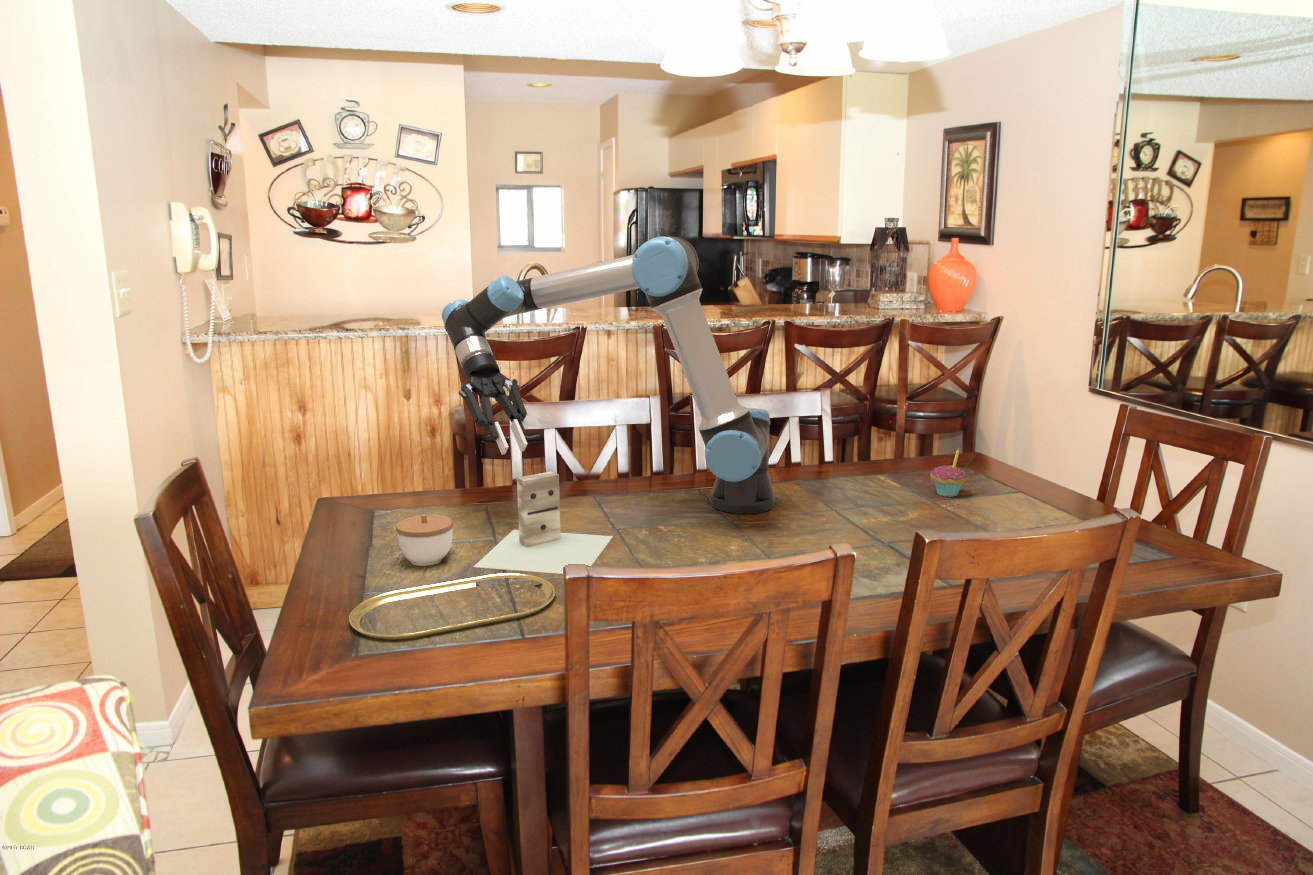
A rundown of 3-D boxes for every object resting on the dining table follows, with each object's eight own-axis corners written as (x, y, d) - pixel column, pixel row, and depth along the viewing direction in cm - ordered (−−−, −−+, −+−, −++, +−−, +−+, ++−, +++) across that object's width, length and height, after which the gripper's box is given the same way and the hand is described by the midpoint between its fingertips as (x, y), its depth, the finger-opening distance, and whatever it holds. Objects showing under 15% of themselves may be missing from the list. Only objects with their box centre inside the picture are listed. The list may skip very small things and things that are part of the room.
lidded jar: (405, 574, 169) (401, 527, 167) (393, 556, 179) (390, 511, 176) (461, 564, 174) (458, 518, 172) (446, 547, 183) (444, 503, 181)
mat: (613, 538, 188) (613, 536, 188) (583, 578, 167) (583, 575, 167) (513, 532, 192) (513, 529, 192) (473, 569, 171) (473, 566, 171)
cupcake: (969, 492, 220) (973, 445, 217) (960, 501, 213) (964, 452, 210) (934, 487, 224) (937, 440, 221) (924, 495, 217) (927, 447, 214)
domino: (519, 543, 184) (516, 477, 181) (553, 535, 188) (551, 471, 185) (526, 547, 181) (524, 481, 178) (561, 539, 186) (559, 474, 183)
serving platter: (570, 612, 153) (570, 603, 153) (357, 653, 139) (356, 643, 139) (536, 574, 170) (536, 566, 170) (343, 608, 155) (342, 599, 155)
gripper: (507, 368, 206) (544, 453, 196) (437, 375, 196) (473, 464, 187) (517, 348, 200) (555, 434, 191) (445, 354, 191) (482, 445, 181)
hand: (514, 449), depth 189 cm, fingers open, 4 cm apart
